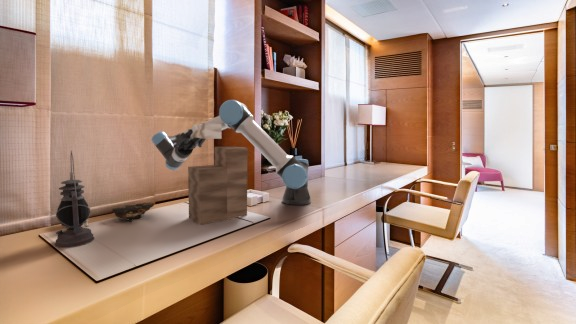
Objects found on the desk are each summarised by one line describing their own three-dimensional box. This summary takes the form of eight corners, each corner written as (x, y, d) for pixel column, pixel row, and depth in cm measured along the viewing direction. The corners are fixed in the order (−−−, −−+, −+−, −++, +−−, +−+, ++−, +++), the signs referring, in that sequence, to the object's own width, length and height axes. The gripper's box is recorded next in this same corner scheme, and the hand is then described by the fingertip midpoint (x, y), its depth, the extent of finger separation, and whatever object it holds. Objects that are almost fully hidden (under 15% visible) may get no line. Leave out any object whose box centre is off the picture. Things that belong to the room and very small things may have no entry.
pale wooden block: (183, 136, 132) (183, 123, 131) (198, 137, 136) (198, 123, 136) (205, 138, 116) (205, 123, 115) (221, 138, 121) (221, 123, 120)
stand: (188, 218, 126) (187, 147, 123) (234, 210, 140) (234, 146, 137) (200, 224, 118) (199, 149, 115) (247, 215, 132) (247, 147, 129)
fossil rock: (136, 224, 116) (136, 210, 115) (106, 222, 119) (106, 207, 118) (159, 215, 129) (158, 202, 129) (131, 213, 132) (131, 200, 132)
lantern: (53, 239, 99) (47, 149, 96) (90, 232, 106) (86, 149, 103) (56, 251, 90) (50, 152, 87) (97, 243, 97) (93, 151, 94)
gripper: (200, 157, 147) (220, 135, 131) (166, 159, 136) (183, 134, 120) (197, 144, 149) (216, 120, 133) (163, 144, 138) (179, 118, 122)
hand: (200, 127), depth 126 cm, fingers closed on pale wooden block, 3 cm apart
